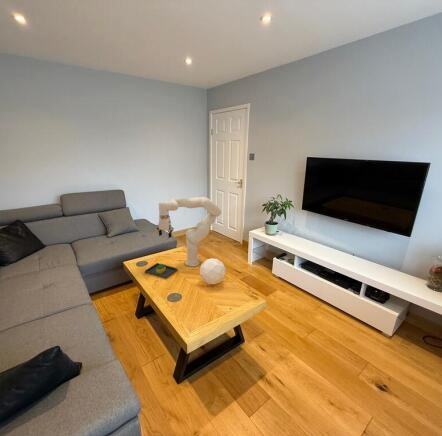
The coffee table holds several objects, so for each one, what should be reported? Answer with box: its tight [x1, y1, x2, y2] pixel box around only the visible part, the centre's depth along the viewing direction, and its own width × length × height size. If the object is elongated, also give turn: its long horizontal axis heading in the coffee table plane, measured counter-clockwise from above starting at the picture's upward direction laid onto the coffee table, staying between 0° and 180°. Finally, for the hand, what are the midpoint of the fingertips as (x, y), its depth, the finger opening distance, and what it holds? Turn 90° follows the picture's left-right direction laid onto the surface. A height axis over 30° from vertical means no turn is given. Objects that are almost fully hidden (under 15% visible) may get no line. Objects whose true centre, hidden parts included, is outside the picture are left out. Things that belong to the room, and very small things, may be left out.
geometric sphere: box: [199, 257, 227, 286], centre depth 177 cm, size 19×20×20 cm
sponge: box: [156, 263, 167, 274], centre depth 193 cm, size 7×4×5 cm, turn 153°
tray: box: [144, 262, 178, 280], centre depth 194 cm, size 16×22×2 cm
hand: (165, 236), depth 195 cm, fingers open, 9 cm apart
